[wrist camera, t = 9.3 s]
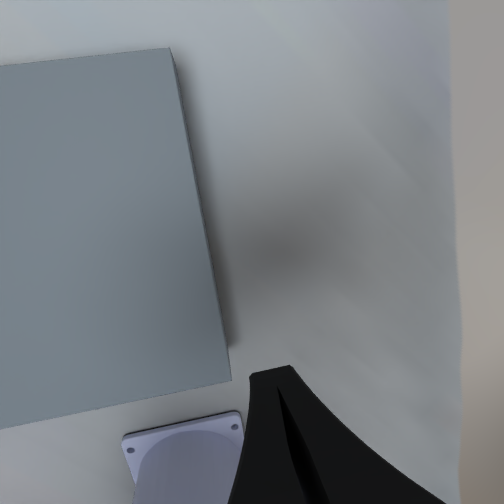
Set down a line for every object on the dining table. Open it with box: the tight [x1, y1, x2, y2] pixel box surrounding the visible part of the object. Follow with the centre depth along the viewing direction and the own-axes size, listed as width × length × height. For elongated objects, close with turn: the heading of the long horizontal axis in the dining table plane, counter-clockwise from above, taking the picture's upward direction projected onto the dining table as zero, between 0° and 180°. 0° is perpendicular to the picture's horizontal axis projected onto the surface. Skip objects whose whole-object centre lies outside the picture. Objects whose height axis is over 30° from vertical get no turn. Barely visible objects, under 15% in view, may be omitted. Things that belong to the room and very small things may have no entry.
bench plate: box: [0, 48, 232, 429], centre depth 16 cm, size 16×14×3 cm
